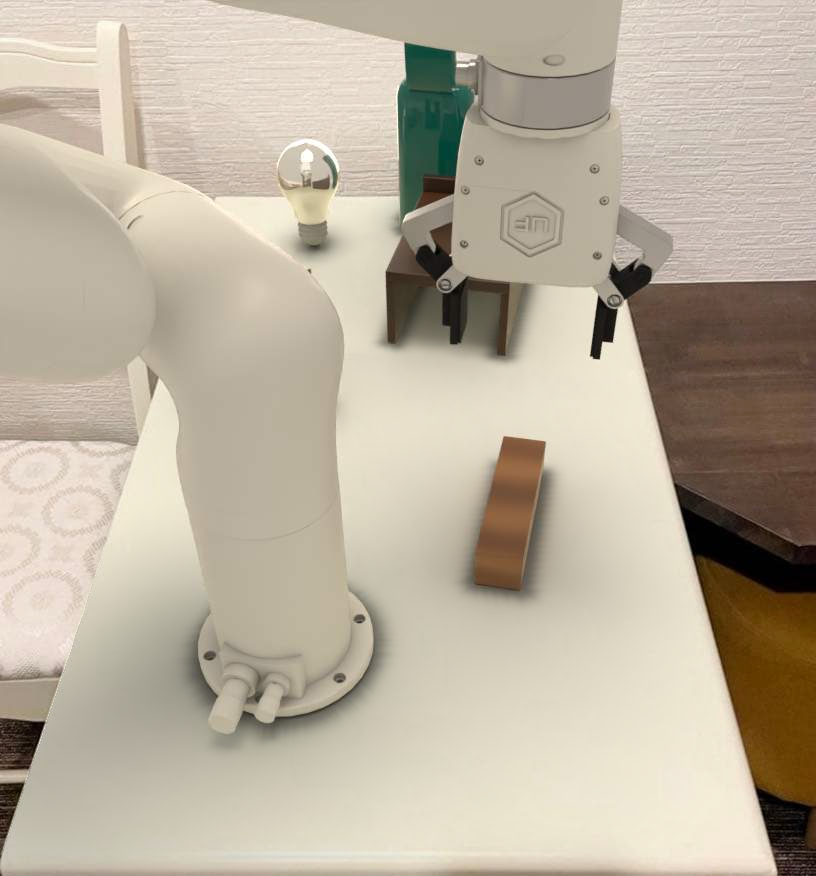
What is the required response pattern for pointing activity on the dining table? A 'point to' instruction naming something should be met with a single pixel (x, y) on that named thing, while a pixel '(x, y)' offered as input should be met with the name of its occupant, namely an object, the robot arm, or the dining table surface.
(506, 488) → the brown wooden bar
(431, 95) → the green glass bottle
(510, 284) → the shelf
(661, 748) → the dining table surface
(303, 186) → the light bulb
